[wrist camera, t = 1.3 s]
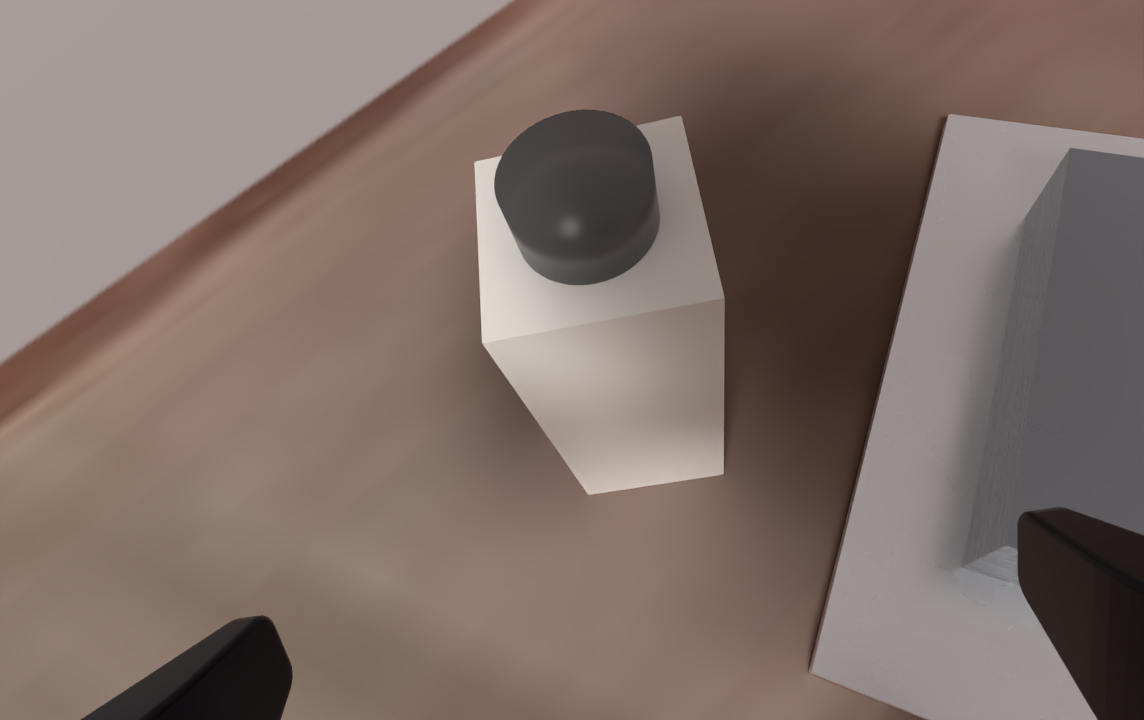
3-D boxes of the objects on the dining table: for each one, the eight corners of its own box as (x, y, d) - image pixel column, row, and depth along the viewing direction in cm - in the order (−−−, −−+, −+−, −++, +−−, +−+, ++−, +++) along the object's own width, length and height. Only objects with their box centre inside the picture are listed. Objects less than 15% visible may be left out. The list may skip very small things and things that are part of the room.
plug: (723, 474, 21) (725, 248, 10) (588, 494, 22) (453, 301, 11) (698, 352, 23) (676, 54, 12) (575, 374, 24) (449, 108, 13)
